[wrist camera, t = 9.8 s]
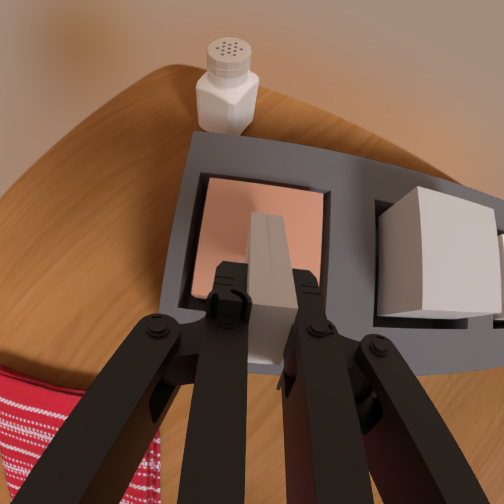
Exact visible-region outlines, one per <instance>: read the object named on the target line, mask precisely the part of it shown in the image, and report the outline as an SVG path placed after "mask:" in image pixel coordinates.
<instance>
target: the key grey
mask: <svg viewBox="0 0 504 504" xmlns="http://www.w3.org/2000/svg"><path fill="white" fill-rule="evenodd" d="M378 224H379V275H378V303H377V316H387V317H405V318H427V319H460V318H468V317H476V316H484V315H491V314H498V313H501V310H502V302H501V271H500V257H499V246H498V237H497V229H496V221H495V214H494V209H492V208H489V207H486V206H483V205H480V204H477V203H474V202H471V201H467V200H464V199H461V198H458V197H454V196H451V195H448V194H444V193H441V192H437V191H434V190H430V189H426V188H423V187H419V186H417V187H415V188H414V189H413V190H412V191H410V192H409V193H408V194H407V195H405V196H404V197H403V198H402V199H400V200H399V201H398V202H397V203H395V204H394V205H393V206H392V207H390V208H389V209H388V210H387V211H385V212H384V213H383V214H381V215H380V216H379V217H378Z"/></svg>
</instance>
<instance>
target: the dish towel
mask: <svg viewBox="0 0 504 504" xmlns="http://www.w3.org/2000/svg"><path fill="white" fill-rule="evenodd" d="M85 392H86V391H83V390H75V389H68V388H65V387H61V386H58V385H54V384H52V383H49V382H46V381H42V380H39V379H36V378H33V377H31V376H27V375H25V374H22V373H19V372H17V371H14V370H12V369H10V368H8V367H6V366H4V365H0V450H1V456H2V463H3V467H4V472H5V476H6V482H7V484H8V489H9V493H10V499H11V501H12V500H13V498H14V497H15V495H16V493H17V492H18V490H19V489H20V487H21V486H22V484H23V482H24V481H25V479H26V478H27V476H28V475H29V473H30V472H31V470H32V469H33V467H34V465H35V464H36V462H37V461H38V459H39V458H40V456H41V455H42V453H43V452H44V450H45V449H46V448H47V446H48V445H49V443H50V442H51V440H52V439H53V437H54V436H55V434H56V433H57V431H58V430H59V429H60V427H61V426H62V424H63V423H64V421H65V420H66V419H67V417H68V416H69V414H70V413H71V412H72V410H73V409H74V407H75V406H76V404H77V403H78V402H79V400H80V399H81V398H82V396H83V395H84V393H85ZM160 439H161V438H160V434H159V429H158V431H157V433H156V435H155V437H154V438H153V440H152V442H151V444H150V446H149V448H148V450H147V452H146V454H145V456H144V458H143V459H142V461H141V463H140V465H139V467H138V469H137V471H136V473H135V475H134V477H133V479H132V480H131V482H130V484H129V486H128V488H127V490H126V492H125V494H124V496H123V498H122V500H121V501H120V503H119V504H161V500H160V467H161V463H160Z"/></svg>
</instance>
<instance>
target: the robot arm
mask: <svg viewBox="0 0 504 504" xmlns="http://www.w3.org/2000/svg"><path fill="white" fill-rule="evenodd" d="M282 358H283V361H284V368H283V371H282V373H281V376H280V379H279V382H278V385H277V389H276V390H280V387H281V390H282V408H283V427H284V448H285V471H286V497H287V504H374V500H373V493H372V487H371V481H370V476H369V472H370V474H371V476H372V478H373V481H374V483H375V485H376V487H377V490H378V492H379V494H380V496H381V498H382V501H383V503H384V504H490V503H489V501H488V499H487V497H486V495H485V493H484V491H483V489H482V488H481V486H480V484H479V482H478V480H477V478H476V476H475V474H474V473H473V471H472V469H471V467H470V465H469V464H468V462H467V460H466V458H465V456H464V455H463V453H462V451H461V449H460V448H459V446H458V444H457V443H456V441H455V439H454V437H453V436H452V434H451V432H450V431H449V429H448V427H447V426H446V424H445V422H444V421H443V419H442V417H441V416H440V414H439V412H438V411H437V409H436V408H435V406H434V404H433V403H432V401H431V400H430V398H429V396H428V395H427V393H426V392H425V390H424V389H423V387H422V385H421V384H420V382H419V381H418V379H417V378H416V376H415V375H414V373H413V372H412V370H411V369H410V367H409V365H408V364H407V362H406V361H405V359H404V358H403V356H402V355H401V353H400V352H399V351H398V349H397V348H396V346H395V345H394V344H393V342H392V341H391V340H390V339H388V338H386V337H385V336H383V335H379V334H368V335H365V336H364V337H363V338H362V339H361V341H357V340H353V339H350V338H347V337H345V336H342V335H340V334H339V333H338V331H337V329H336V327H335V325H334V324H333V323H332V322H331V321H329V320H327V316H326V312H325V308H324V304H323V300H322V297H321V293H320V289H319V285H318V281H317V278H316V277H315V276H314V275H313V273H312V272H311V271H310V270H303V269H295V268H292V267H291V261H290V255H289V249H288V243H287V237H286V232H285V226H284V220H283V216H277V215H270V214H263V213H255V212H251V219H250V226H249V232H248V239H247V245H246V252H245V259H244V263H238V262H230V261H222V262H221V263H220V264H219V265H218V266H217V267H216V272H215V277H214V282H213V288H212V291H211V292H209V294H208V296H207V301H206V315H205V316H204V317H203V318H201V319H200V320H197V321H195V322H191V323H184V324H179V323H178V322H177V321H176V320H175V318H173V317H171V316H169V315H166V314H160V313H158V314H150V315H148V316H145V317H143V318H142V319H141V320H140V321H139V322H138V323H137V324H136V326H135V327H134V328H133V329H132V331H131V332H130V333H129V335H128V336H127V337H126V339H125V340H124V341H123V342H122V344H121V345H120V346H119V348H118V349H117V350H116V352H115V353H114V354H113V356H112V357H111V358H110V360H109V361H108V362H107V364H106V365H105V366H104V368H103V369H102V370H101V372H100V373H99V374H98V376H97V377H96V378H95V380H94V381H93V382H92V384H91V385H90V387H89V388H88V389H87V391H86V392H85V393H84V395H83V396H82V398H81V399H80V400H79V402H78V403H77V404H76V406H75V407H74V409H73V410H72V412H71V413H70V414H69V416H68V417H67V419H66V420H65V421H64V423H63V424H62V426H61V427H60V429H59V430H58V431H57V433H56V434H55V436H54V437H53V439H52V440H51V442H50V443H49V445H48V446H47V448H46V449H45V450H44V452H43V453H42V455H41V456H40V458H39V459H38V461H37V462H36V464H35V465H34V467H33V469H32V470H31V472H30V473H29V475H28V476H27V478H26V479H25V481H24V482H23V484H22V486H21V487H20V489H19V490H18V492H17V493H16V495H15V497H14V498H13V500H12V501H11V503H10V504H119V503H120V501H121V500H122V498H123V496H124V494H125V492H126V490H127V488H128V486H129V484H130V482H131V480H132V479H133V477H134V475H135V473H136V471H137V469H138V467H139V465H140V463H141V461H142V459H143V458H144V456H145V454H146V452H147V450H148V448H149V446H150V444H151V442H152V440H153V438H154V437H155V435H156V433H157V431H158V429H159V427H160V425H161V423H162V421H163V419H164V418H165V416H166V414H167V412H168V410H169V408H170V406H171V404H172V402H173V400H174V398H175V397H176V395H177V393H178V391H179V389H180V387H181V385H185V384H193V383H194V388H193V394H192V401H191V407H190V413H189V420H188V427H187V433H186V440H185V447H184V454H183V462H182V469H181V477H180V484H179V492H178V500H177V504H244V496H245V455H246V414H247V374H248V363H258V364H270V365H280V364H281V361H282Z"/></svg>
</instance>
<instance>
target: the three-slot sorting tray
mask: <svg viewBox="0 0 504 504" xmlns="http://www.w3.org/2000/svg"><path fill="white" fill-rule="evenodd" d="M210 178H218V179H227V180H235V181H243V182H250V183H258V184H265V185H272V186H279V187H285V188H292V189H298V190H304V191H311V192H317V193H322V194H323V222H322V245H321V264H320V280H319V289H320V293H321V297H322V300H323V304H324V308H325V312H326V316H327V320H329V321H331V322H332V323H333V324H334V325H335V327H336V329H337V331H338V333H339V334H340V335H342V336H345V337H347V338H350V339H353V340H357V341H361V339H362V338H363V337H364V336H365V335H368V334H379V335H383V336H385V337H386V338H388V339H390V340H391V341H392V342H393V344H394V345H395V346H396V348H397V349H398V351H399V352H400V353H401V355H402V356H403V358H404V359H405V361H406V362H407V364H408V365H409V367H410V369H411V370H412V372H413V373H414V375H415V376H425V375H438V374H449V373H459V372H468V371H476V370H484V369H491V368H497V367H504V323H493V314H491V315H484V316H476V317H468V318H460V319H427V318H405V317H387V316H377V303H378V275H379V224H378V217H379V216H380V215H381V214H383V213H384V212H385V211H387V210H388V209H389V208H390V207H392V206H393V205H394V204H395V203H397V202H398V201H399V200H400V199H402V198H403V197H404V196H405V195H407V194H408V193H409V192H410V191H412V190H413V189H414V188H415V187H417V186H419V187H423V188H426V189H430V190H434V191H437V192H441V193H444V194H448V195H451V196H454V197H458V198H461V199H464V200H467V201H471V202H474V203H477V204H480V205H483V206H486V207H489V208H492V209H494V214H495V221H496V229H497V236H499V235H501V234H504V200H502V199H499V198H496V197H494V196H491V195H488V194H486V193H483V192H480V191H477V190H474V189H472V188H468V187H466V186H463V185H460V184H457V183H454V182H451V181H448V180H444V179H441V178H438V177H435V176H431V175H428V174H425V173H421V172H418V171H414V170H411V169H407V168H403V167H400V166H396V165H392V164H388V163H384V162H380V161H376V160H372V159H368V158H364V157H359V156H355V155H351V154H346V153H341V152H336V151H332V150H327V149H322V148H316V147H311V146H305V145H300V144H294V143H288V142H282V141H276V140H269V139H262V138H255V137H247V136H239V135H231V134H222V133H213V132H202V131H193V134H192V138H191V142H190V146H189V150H188V155H187V159H186V163H185V168H184V172H183V177H182V181H181V186H180V190H179V195H178V200H177V205H176V210H175V215H174V220H173V225H172V231H171V236H170V242H169V247H168V253H167V259H166V265H165V271H164V277H163V284H162V291H161V298H160V305H159V312H158V313H160V314H166V315H169V316H171V317H173V318H175V320H176V321H177V322H178V323H179V324H184V323H191V322H195V321H197V320H200V319H201V318H203V317H204V316H205V315H206V303H201V302H198V300H197V299H196V298H195V297H194V296H193V295H192V294H191V292H192V285H193V278H194V271H195V264H196V257H197V251H198V244H199V238H200V232H201V226H202V220H203V214H204V208H205V202H206V196H207V191H208V185H209V180H210ZM283 368H284V361H283V358H282V361H281V364H280V365H270V364H258V363H248V373H255V374H267V375H281V373H282V371H283Z"/></svg>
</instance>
